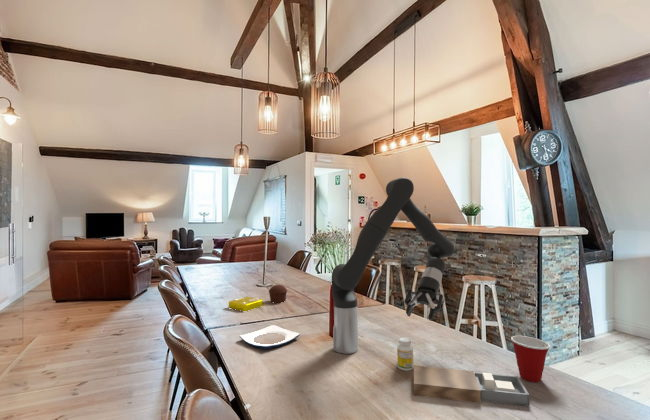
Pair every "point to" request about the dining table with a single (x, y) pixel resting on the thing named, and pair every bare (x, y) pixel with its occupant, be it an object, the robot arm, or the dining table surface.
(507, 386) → the tile
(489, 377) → the tile
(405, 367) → the supplement bottle
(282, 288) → the muffin
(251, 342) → the plate
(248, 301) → the element tile
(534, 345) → the plastic cup
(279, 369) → the dining table surface
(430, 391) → the board
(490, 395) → the tray
